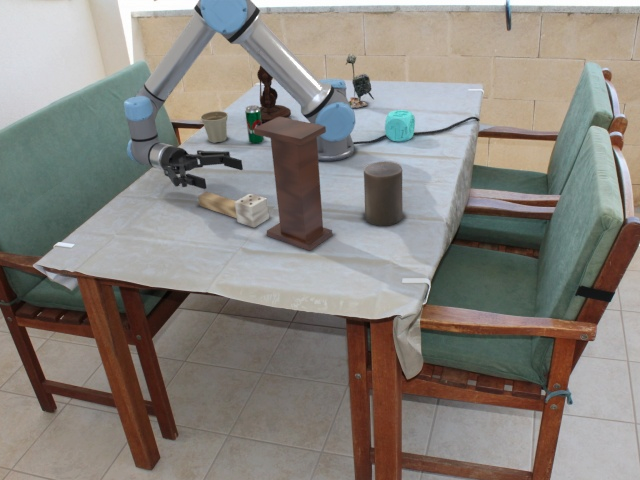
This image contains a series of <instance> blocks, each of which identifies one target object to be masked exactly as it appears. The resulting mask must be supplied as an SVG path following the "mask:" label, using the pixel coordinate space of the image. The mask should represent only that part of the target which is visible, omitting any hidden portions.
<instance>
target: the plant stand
mask: <svg viewBox="0 0 640 480" xmlns="http://www.w3.org/2000/svg"><path fill="white" fill-rule="evenodd" d="M325 132H326V126H322V125H318V124H313V123H310V122H309V121H303V120H298V119H292V118H290V117H288V118H284V117H277V118H275V119H273V120H271V121H268V122H263V123H262V125H260V126H258V127H256V128H254V134H255V135H259V136H263V137H264V138H268V139H270V146H271V155H272V165H273V172H274V182H275V191H276V192H275V193H276V200H277V201H276V202H277V209H278V220H279V222H278V223H277V224H275V225H273V226H272V227H270V228H269V229H267V230H266V237H269V238H272V239H274V240H276V241H277V240H278V241H281V242H283V243H286V244H289V245H292V246H295V247H297V248H301V249H303V250H306V251H310V252H311V251H312V250H314V249H315V248H316V247H318V246H319V245H321V244H322V243H323V242H325V241H326V240H328V239H329V238H331V237H332V236H333V229H330V228H327V227H324V223H323V222H324V221H323V220H324V219H323V208H322V207H323V206H322V194H321V193H322V192H321V179H320V166H319V160H318V149H317V137H318V136H320V135H322V134H324V133H325Z"/></svg>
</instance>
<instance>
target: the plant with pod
mask: <svg viewBox="0 0 640 480" xmlns="http://www.w3.org/2000/svg"><path fill="white" fill-rule="evenodd" d="M345 61H346V62H345V65H346V66H347V65H348V64H351V67H352V81H351V82H352V85H353V92H354V94H353V95H354V96H353V97H350V100H348V102H349V104H350V106H351V107H352V108H356V109H358V108H362V107H367V106H368V104H367V101H365V100H361V99H362V98H361V97H363V96H364V95H369V97H370V98H371V99H372V100H375V97H374V96H373V95H372V94H371V91H372V84H371V79H370V77H369V76H370V75H368V74H367V73H361V74H357V75H356V76H355V65H354V64H356V61H357V55H356V54H353V53H352V52H351V53H348V55H347V58H346V60H345ZM356 96H357V97H356Z"/></svg>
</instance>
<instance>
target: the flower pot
mask: <svg viewBox="0 0 640 480" xmlns="http://www.w3.org/2000/svg"><path fill="white" fill-rule="evenodd" d="M228 117H229V114H228V112H226V111H223V110H222V111H221V110H215V111H208V112H205V113H203V114H202V115H200V117H199V119H200V120H201V122H202V124H203V126H204V130H205V133H206V136H207V139H208V142H210V143H213V144H217V143H223V142H225V141H226V140H227V139H228V135H227V134H228V132H227V131H228V130H227V129H228V125H227V124H228V123H227V121H228Z"/></svg>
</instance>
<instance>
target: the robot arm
mask: <svg viewBox="0 0 640 480" xmlns="http://www.w3.org/2000/svg"><path fill="white" fill-rule="evenodd" d="M217 33H218V34H220V35H221V36H222V37H224V39H225V40H226V41H228V43H229V44H230V45H240V47H242V49H244V50H245V52H247V54H248V55H250V56H251V57H252V58H253V60H255V62H256V63H258V65H259V66H260V65H261V66H262V67H263V68H264V69H265V70H266V71H267V72H268V73H269V74H270V75H271V76H272V77H273V79H274V80H275V82H277V83H278V84H279V85H280V86H281V87H282V88H283V89H284V91H286V92H287V94H289V95H290V97H292V98H293V99H294V100H295V101H296V103H298V104H299V105H300V113H301V115H302V116H303V117H304V118H305V119H306V120H307V122H308V123H313V124H318V125H322V126H326V132H325V133H324V134H322V135H320V136H318V137H317V149H318V162H319V161H320V162H334V161H341V160H344V159H347V158H349V157H351V156H352V155H353V154H354V153H355V145H364V144H366V145H367V144H373V143H377V142H378V141H381V140H383V139H385V138H388V137H387V136H386V134H384V135H381V136H379V137H377V138H374V139H371V140H360V141H353V138H352V135H351V134H352V133H353V131H354V129H355V126H356V113H355V110H354V108H353V107H351V106H350V104H349V100H348V97H347V85H346V82H345V80H344V79H341V78H325V79H323V78H322V79H319V78H318V77H317V76H316V75H315V74H313V72H312V71H311V70H310V69H309V68H308V67H307V66H306V65H305V64H304V62H302V61H301V60H300V59H299V57H297V55H295V53H294V52H293V51H292V50H291V49H290V48H289V47H288V46H287V45H286V44H285V43H284V42H283V41H282V40H281V39H280V38H279V37H278V35H276V33H274V32H273V30H272V29H271V28H270V27H269V26H267V24H266V23H265V22H264V21H263V20H262V12H261V10H260V9H259V8H258V7H257V5H255V3H254V2H253V1H252V0H198V1H197V3H196V4H195V6H194V7H193V15H192V17H190V19H189V21H188V22H187V24H186V25H185V26H184V28H183V29H182V30H181V32H180V33H179V35H178V36H177V38H176V39H175V40H174V41H173V43H172V44H171V46H170V48H169V49H168V50H167V52H166V53H165V55H164V56H163V57H162V58H161V60H160V61H159V63H157V65H156V67H155V69H154V70H153V71H152V73H151V74H150V76H149V77H148V78H147V80H146V81H145V83H144V84H143V86H141V88H140V89H139V90H138V91H137V92H136V93H135V95H134V96H132V97H128V99H125V100H124V101H123V107H124V116H125V118H126V121H127V126H128V130H129V134H130V139H129V141H128V143H127V148H126V153H127V156H128V158H129V159H130V160H131V161H133V162H135V163H137V164H139V165H141V166H142V165H143V166H147V167H151V168H154V169H157V170H161V171H163V174H164V176H165V177H167V178H168V179H169V180H170V182H171V183H172V184H173V186H174V187H176V188H177V187H180V185H181V187H182V188H187V187H188V185H189V186H192V187H196V188H199V189H203V190H206V189H207V182H206V178H205V177H201V176H197V175H194V174H191V173H187V172H188V171H192V170H194V169H197V168H198V169H199V168H200V169H201V168H203V167H204V166H217V165H223V166H224V167H228V168H231V169H235V170H237V171H238V170H239V171H243V170H244V167H243V161H242V159H239V158H235V157H232V156H231V154H230V151H225V150H223V151H221V150H220V151H219V150H217V151H216V150H201V149H199V150H196V154H192V153H188V151H187V150H185V149H184V148H183V147H179V146H175V145H172V144H168V143H164V142H160V139H159V134H158V129H157V124H156V119H157V116H158V112H159V111H160V110H161V108H162V107H163V106H164V104H165V102H166V101H167V100H168V98H169V97H170V96H171V94H172V93H173V92H174V90H175V89H176V87H177V86H178V85H179V83H180V82H181V81H182V80H183V78H184V77H185V75H186V74H187V73H188V71H189V70H190V68H191V67H192V66H193V65H194V63H195V62H196V60H197V59H198V58H199V56H200V55H201V54H202V52H203V51H204V50H205V49H206V47H207V46H208V45H209V43H210V42H211V41H212V39H213V38H214V36H215V35H216V34H217ZM470 120H475V121H478V122H479V121H481V120H480V118H479V117H477V116H469V117H467V118H465V119H462V120H461V121H458V122H455V123H453V124H451V125H449V126H447V127H444V128H441V129H436V130H429V131H428V130H427V131H419V132H418V131H417V132H414V134H413V136H421V135H430V134H437V133H443V132H446V131H448V130H451V129H452V128H454V127H456V126H459V125H462V124H464V123H466V122H468V121H470ZM178 175H179V176H178Z"/></svg>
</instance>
